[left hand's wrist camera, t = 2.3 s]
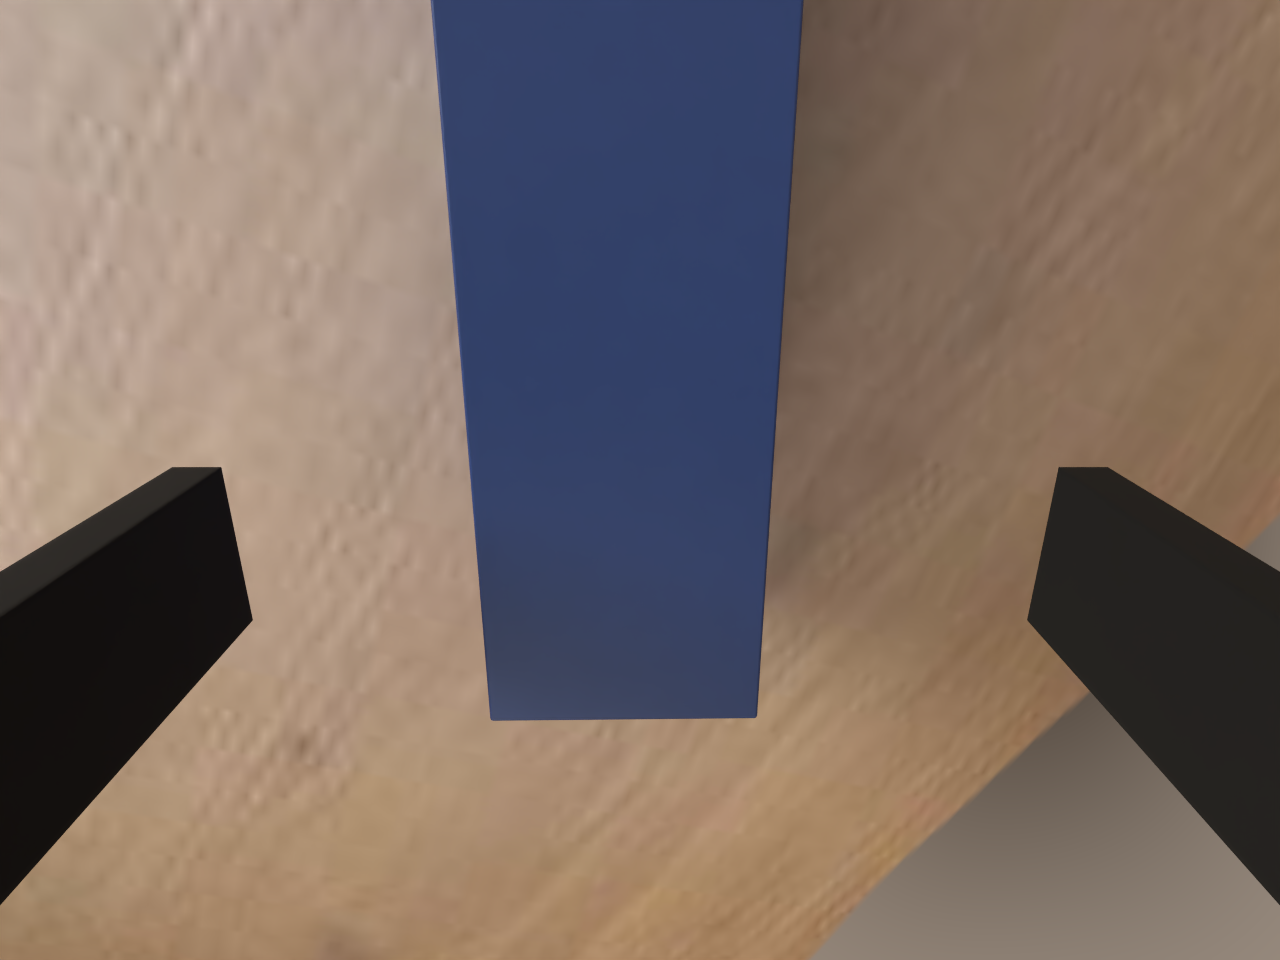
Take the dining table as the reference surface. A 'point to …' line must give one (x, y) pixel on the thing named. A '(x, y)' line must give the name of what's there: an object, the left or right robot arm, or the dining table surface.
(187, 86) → the dining table surface
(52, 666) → the left robot arm
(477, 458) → the bar
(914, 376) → the dining table surface
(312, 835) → the dining table surface
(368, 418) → the dining table surface
